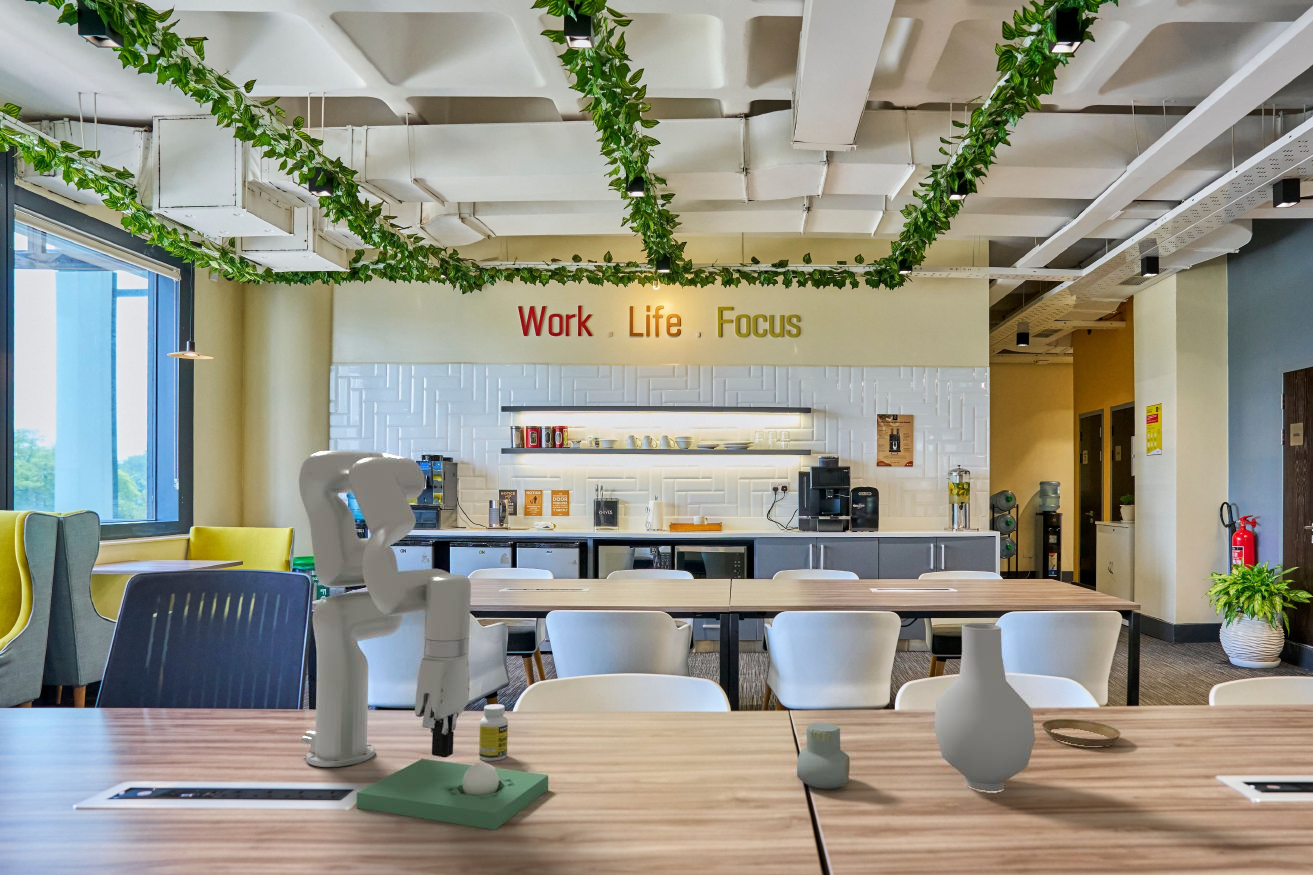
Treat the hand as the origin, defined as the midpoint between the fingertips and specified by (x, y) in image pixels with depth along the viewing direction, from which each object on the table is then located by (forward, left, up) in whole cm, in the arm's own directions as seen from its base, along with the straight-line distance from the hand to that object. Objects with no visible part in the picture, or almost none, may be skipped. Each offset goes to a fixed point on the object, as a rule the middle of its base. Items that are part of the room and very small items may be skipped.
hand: (442, 754), depth 143 cm
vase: (+88, +36, -7) cm, 95 cm away
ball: (+8, 0, -4) cm, 9 cm away
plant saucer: (+108, +72, -7) cm, 130 cm away
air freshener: (+61, +28, -7) cm, 67 cm away
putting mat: (+3, 0, -7) cm, 8 cm away
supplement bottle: (-2, +21, -7) cm, 22 cm away
